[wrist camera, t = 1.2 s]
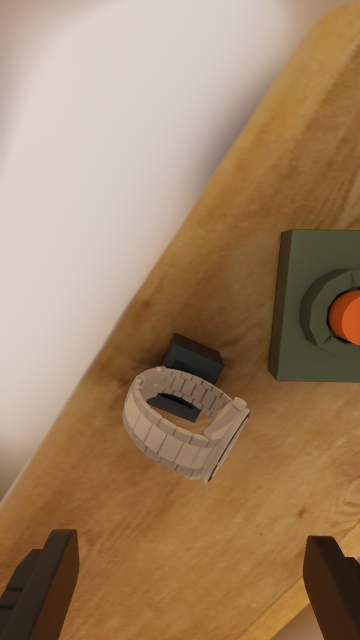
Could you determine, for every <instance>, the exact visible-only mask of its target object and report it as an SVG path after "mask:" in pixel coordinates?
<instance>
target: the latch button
mask: <svg viewBox="0 0 360 640" xmlns="http://www.w3.org/2000/svg"><path fill="white" fill-rule="evenodd" d="M328 321H329V325H330V327H331V329H332V331H333V332H334V333H335V334H336V335H338V336H340V337H342V338H344V339H346V340H348V341H350V342H352V343H354V344H356V345H360V290H353V291H349V292H346V293H344V294H342V295H341V296H339V297H338V298H337V299H336V300H335V301H334V303H333V304H332V306H331V308H330V310H329V315H328Z"/></svg>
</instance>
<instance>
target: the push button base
mask: <svg viewBox="0 0 360 640" xmlns="http://www.w3.org/2000/svg"><path fill="white" fill-rule="evenodd" d="M353 290H360V230H310V229H292V230H288V231H284V232H282V237H281V247H280V257H279V268H278V278H277V288H276V299H275V309H274V319H273V330H272V340H271V350H270V361H269V372H270V373H271V374H272V376H273V377H274V378H275V379H276V381H305V382H356V383H360V345H356V344H354V343H352V342H350V341H348V340H346V339H344V338H342V337H340V336H338V335H336V334H335V333H334V332H333V331H332V329H331V327H330V325H329V321H328V315H329V310H330V308H331V306H332V304H333V303H334V301H335V300H336V299H337V298H338V297H339V296H341V295H342V294H344V293H346V292H349V291H353Z"/></svg>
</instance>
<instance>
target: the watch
mask: <svg viewBox="0 0 360 640" xmlns="http://www.w3.org/2000/svg"><path fill="white" fill-rule="evenodd" d="M223 367H224V364H223V361H222V359H221V356H220V353H219V352H218V351H215V350H213V349H211V348H208V347H206V346H204V345H202V344H199V343H197V342H195V341H192V340H190V339H188V338H185V337H183V336H181V335H178V334H176V333H175V334H174V336H173V338H172V340H171V342H170V344H169V347H168V349H167V351H166V353H165V355H164V357H163V360H162V362H161V364H160V366H159V367H155V368H152V369H148V370H146V371H144V372H142V373H140V374H139V375H137V376H136V377H135V379H134V381H133V383H132V385H131V387H130V389H129V391H128V394H127V396H126V399H125V402H124V405H125V406H124V409H123V412H122V416H123V423H124V426H125V428H126V430H127V432H128V434H129V436H130V437H131V439H132V440H134V443H135V444H136V446H137V447H138V448H139V449H140V450H141V451H142V452H145V454H146V455H147V456H148V457H149V458H151V459H152V460H153V461H155V462H156V463H159V464H160V465H161V466H163V467H165V468H167V469H169V470H171V471H174V470H175V472H177V473H180V474H181V475H182V476H184V477H185V478H186V479H190V480H196V479H200V478H203V481H204V482H205V483H208V482H209V481H210V480H211V478H212V477H213V476H214V475H215V474H216V472H217V471H218V469H219V468H220V466H221V465H222V463H223V462H224V460H225V459H226V457H227V455H228V454H229V452H230V450H231V449H232V447H233V445H234V444H235V442H236V440H237V439H238V437H239V435H240V433H241V432H242V430H243V428H244V426H245V424H246V422H247V419H248V417H249V414H250V410H249V409H247V408H246V409H245V407H246V405H247V404H246V402H245V401H244V400H243V399H241V398H239V397H235V398H234V400H233V401H232V399H231V398H230V397H229V396H228V395H226V394H225V393H224V392H223V391H221V390H220V389H219V388H217V387H216V386H214V384H215V382H216V381H217V379H218V377H219V375H220V373H221V371H222V369H223ZM145 400H147V402H146V401H145ZM148 404H149V405H152V406H154V407H157V408H159V409H162V410H164V411H167V412H169V413H172V414H174V415H177V416H179V417H182V418H184V419H186V420H189V421H191V422H194V423H195V421H196V419H197V417H198V415H199V413H200V411H201V410H202V411H203V412H204V413H205V414H206V415H207V416H208V417H210V419H211V420H212V421H211V423H210V424H209V426H208V427H207V428H206V429H205V431H204V432H203V435H199V434H196V433H194V434H193V435H192V432H190V431H188V430H185V429H183V428H180V427H177V429H176V425H175V424H173V423H171V422H170V421H168V420H166V419H164V418H163V419H162V416H161V415H160V414H158V413H157V412H156V411H155V410H154V409H151V408H150V406H149V405H148ZM175 430H176V431H175ZM174 432H175V433H174ZM167 434H168V435H167ZM166 435H167V437H166ZM165 437H166V439H165ZM164 439H165V441H164ZM163 441H164V443H163ZM162 443H163V445H162ZM161 445H162V447H161ZM160 447H161V449H160ZM159 449H160V451H159ZM161 457H162V458H161ZM160 459H161V460H160ZM159 461H160V462H159Z"/></svg>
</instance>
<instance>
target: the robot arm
mask: <svg viewBox="0 0 360 640" xmlns="http://www.w3.org/2000/svg"><path fill="white" fill-rule="evenodd" d="M78 573H79V551H78V540H77V531H76V530H71V529H54V530H53V531H52V532H51V533H50V535H49V537H48V539H47V541H46V543H45V545H44V547H43V549H33V550H32V551H31V552H30V553H29V554H28V555H27V556H26V557H25V558H24V559H23V561H22V562H21V563H20V564H19V565H18V566H17V568H16V570H15V572H14V573H13V575H12V577H11V579H10V581H9V583H8V585H7V586H6V590H5V591H4V592H3V594H2V596H1V598H0V640H58V639H59V636H60V633H61V629H62V626H63V623H64V620H65V617H66V614H67V611H68V608H69V605H70V602H71V599H72V596H73V593H74V590H75V586H76V583H77V578H78ZM303 578H304V584H305V588H306V591H307V594H308V597H309V600H310V602H311V605H312V608H313V610H314V613H315V616H316V618H317V621H318V624H319V626H320V629H321V631H322V634H323V637H324V640H360V564H359V563H358V562H357V561H356V560H355V558H354V557H345V556H344V554H343V553H342V551H341V549H340V547H339V545H338V544H337V542H336V540H335V539H334V538H333V537H332V536H308V538H307V544H306V551H305V557H304V564H303Z"/></svg>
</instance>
